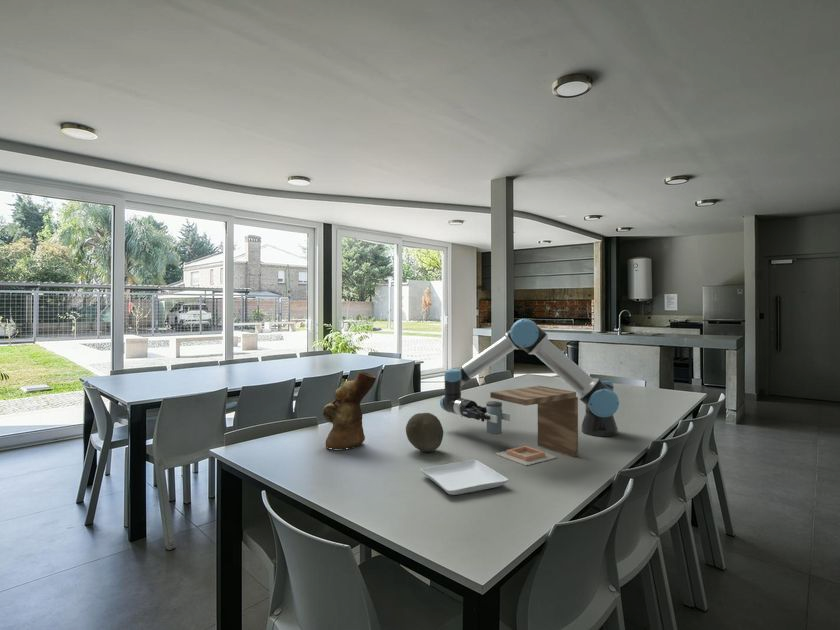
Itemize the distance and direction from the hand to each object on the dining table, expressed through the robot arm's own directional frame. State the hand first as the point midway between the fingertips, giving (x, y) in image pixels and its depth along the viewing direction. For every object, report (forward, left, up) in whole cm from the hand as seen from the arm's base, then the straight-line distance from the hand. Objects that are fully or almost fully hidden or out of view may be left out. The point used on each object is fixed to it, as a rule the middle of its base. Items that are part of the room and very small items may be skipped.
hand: (502, 418), depth 185 cm
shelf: (-2, +14, -12) cm, 18 cm away
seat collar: (0, +12, -12) cm, 17 cm away
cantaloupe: (+28, -14, -12) cm, 33 cm away
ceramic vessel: (+48, -39, -12) cm, 63 cm away
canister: (0, -5, -7) cm, 8 cm away
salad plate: (+36, +20, -12) cm, 43 cm away
